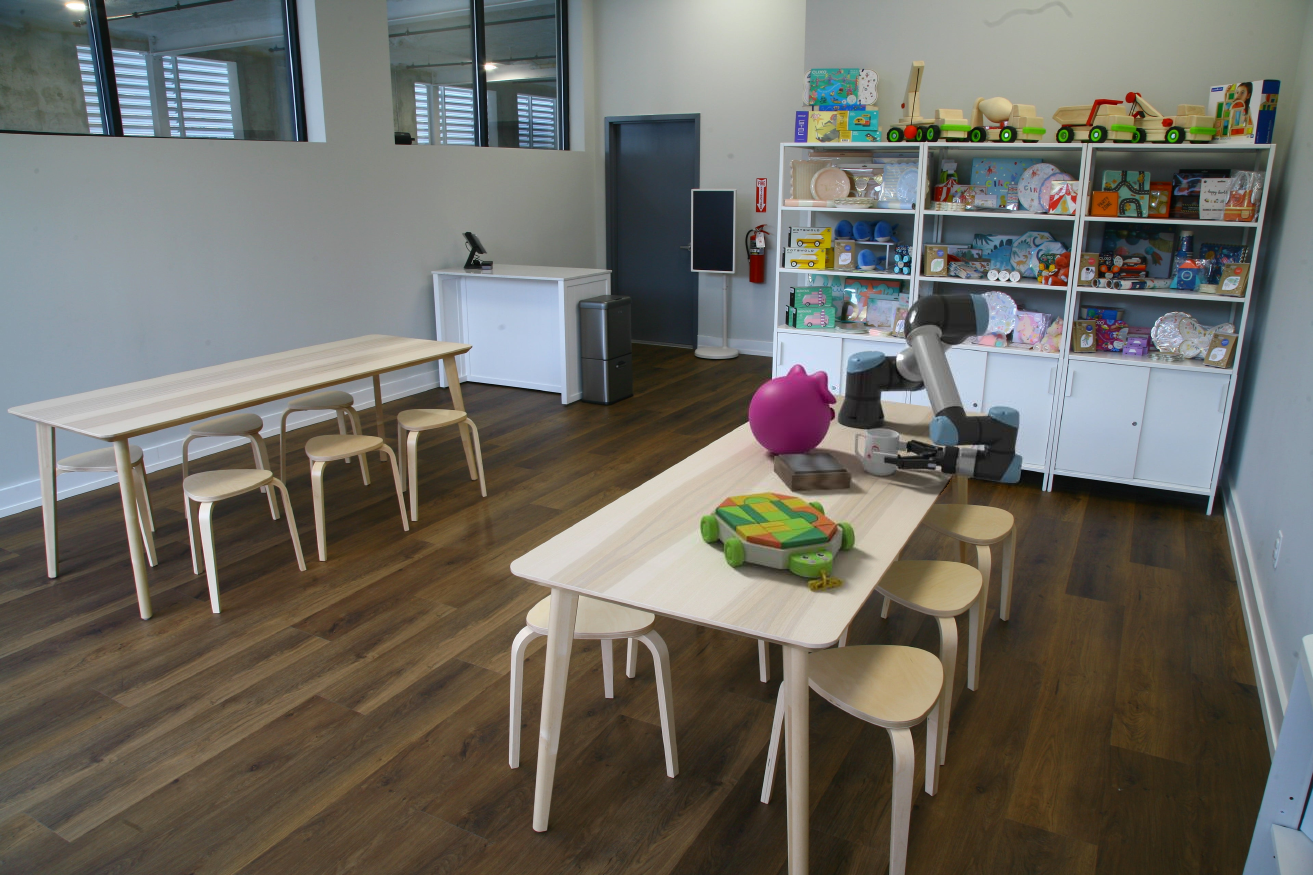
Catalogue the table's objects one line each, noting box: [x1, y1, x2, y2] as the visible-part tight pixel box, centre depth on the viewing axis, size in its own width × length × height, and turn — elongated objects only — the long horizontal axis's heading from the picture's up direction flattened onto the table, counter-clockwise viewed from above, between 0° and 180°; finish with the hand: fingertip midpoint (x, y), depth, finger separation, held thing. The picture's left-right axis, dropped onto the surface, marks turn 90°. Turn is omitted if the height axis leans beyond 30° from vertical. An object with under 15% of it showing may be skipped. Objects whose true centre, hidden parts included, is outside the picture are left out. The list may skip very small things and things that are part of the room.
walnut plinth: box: [773, 452, 852, 492], centre depth 229 cm, size 16×16×5 cm
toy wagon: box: [699, 491, 856, 592], centre depth 184 cm, size 29×38×7 cm
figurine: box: [748, 364, 838, 455], centre depth 247 cm, size 23×24×25 cm
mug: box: [854, 428, 900, 477], centre depth 235 cm, size 12×9×11 cm
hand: (877, 449), depth 234 cm, fingers open, 13 cm apart
